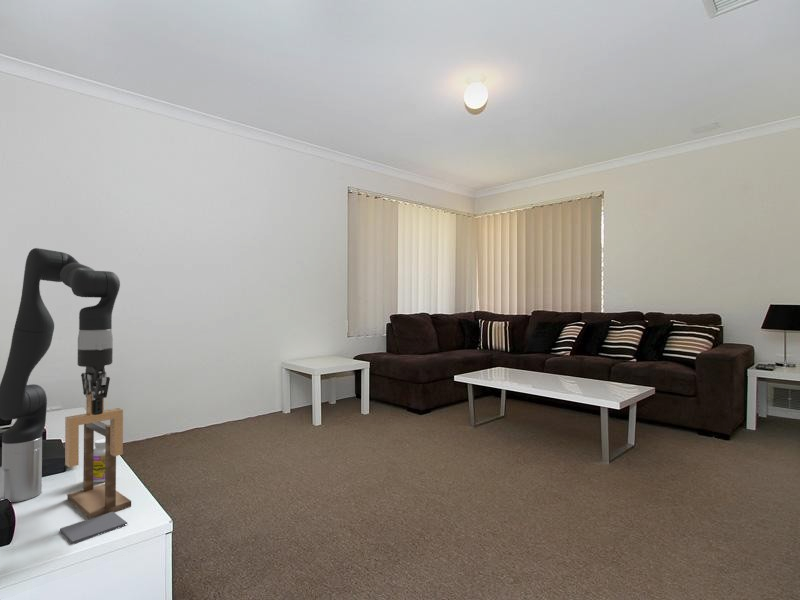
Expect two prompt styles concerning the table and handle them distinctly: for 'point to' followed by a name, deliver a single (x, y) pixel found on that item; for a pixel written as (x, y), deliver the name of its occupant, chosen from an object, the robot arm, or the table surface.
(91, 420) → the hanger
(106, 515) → the mat
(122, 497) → the stand
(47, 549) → the table surface
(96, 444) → the supplement bottle
